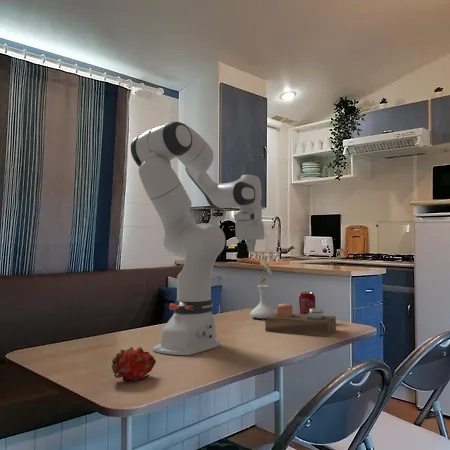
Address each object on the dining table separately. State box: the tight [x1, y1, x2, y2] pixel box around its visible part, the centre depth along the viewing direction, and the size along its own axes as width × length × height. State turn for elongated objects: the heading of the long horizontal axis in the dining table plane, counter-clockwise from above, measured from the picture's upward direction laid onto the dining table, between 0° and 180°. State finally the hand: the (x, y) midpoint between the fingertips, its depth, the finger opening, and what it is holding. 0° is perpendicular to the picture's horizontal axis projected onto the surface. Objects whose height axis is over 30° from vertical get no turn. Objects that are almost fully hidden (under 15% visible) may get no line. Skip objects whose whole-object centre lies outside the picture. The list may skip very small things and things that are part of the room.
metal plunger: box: [309, 307, 325, 320], centre depth 161 cm, size 5×5×7 cm
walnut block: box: [264, 312, 337, 337], centre depth 164 cm, size 12×23×5 cm, turn 63°
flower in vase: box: [249, 259, 277, 320], centre depth 193 cm, size 13×11×25 cm
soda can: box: [297, 290, 316, 315], centre depth 181 cm, size 7×7×12 cm
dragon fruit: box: [111, 346, 157, 382], centre depth 108 cm, size 8×8×12 cm
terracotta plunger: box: [276, 303, 294, 318], centre depth 167 cm, size 5×5×7 cm
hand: (251, 251), depth 175 cm, fingers closed
